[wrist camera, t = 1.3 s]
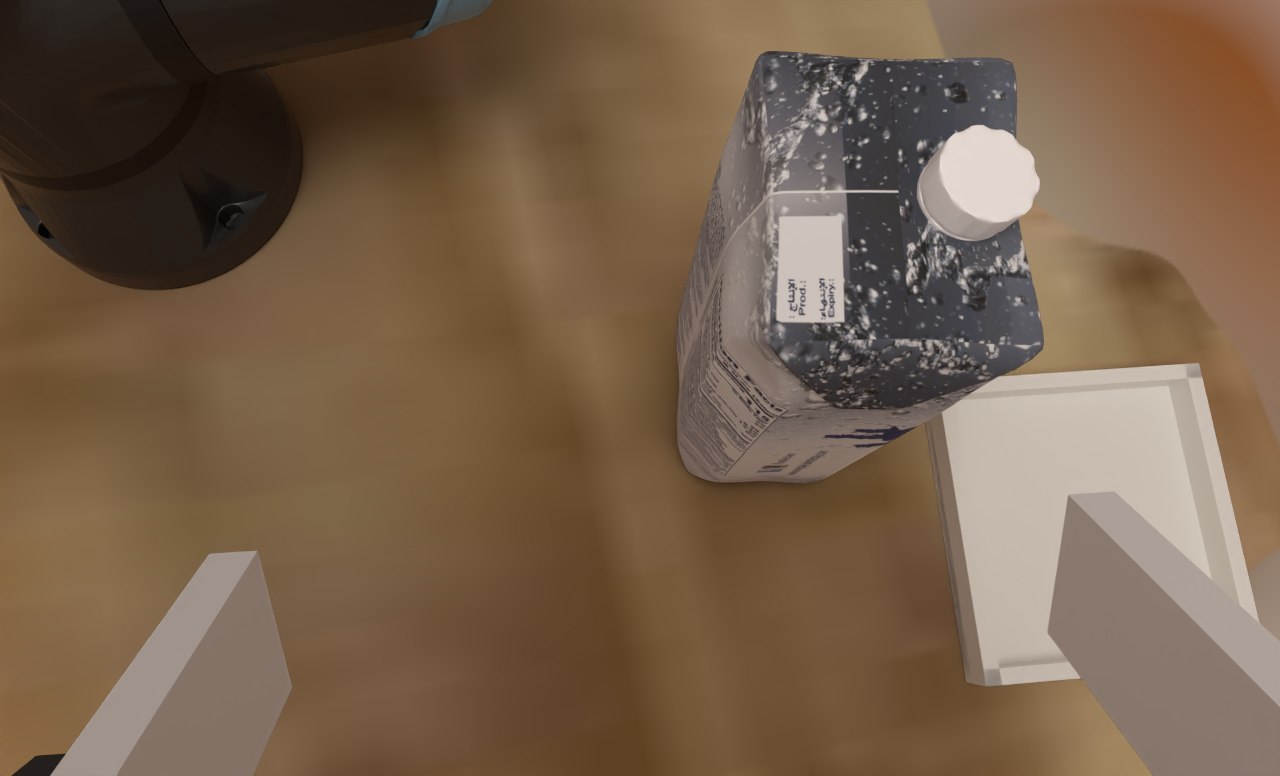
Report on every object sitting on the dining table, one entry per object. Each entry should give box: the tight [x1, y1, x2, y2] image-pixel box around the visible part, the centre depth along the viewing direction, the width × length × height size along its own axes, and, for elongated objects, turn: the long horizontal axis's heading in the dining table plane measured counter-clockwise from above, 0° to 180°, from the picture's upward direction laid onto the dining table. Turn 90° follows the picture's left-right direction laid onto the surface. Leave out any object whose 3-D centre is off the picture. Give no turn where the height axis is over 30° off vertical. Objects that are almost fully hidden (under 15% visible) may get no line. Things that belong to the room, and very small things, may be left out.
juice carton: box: [676, 51, 1044, 483], centre depth 37 cm, size 9×10×27 cm
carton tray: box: [925, 363, 1259, 686], centre depth 48 cm, size 16×15×2 cm
